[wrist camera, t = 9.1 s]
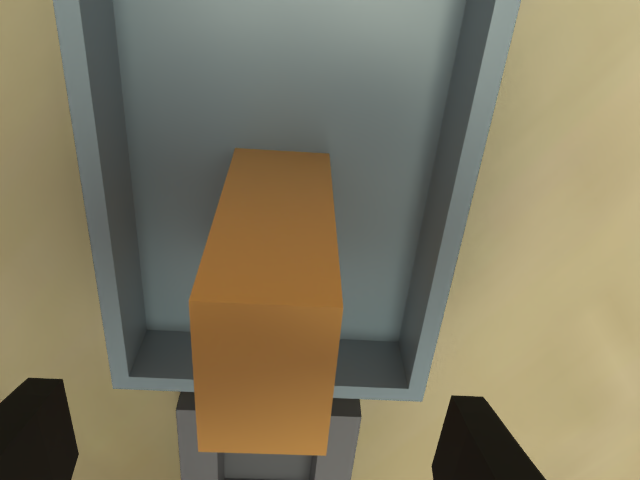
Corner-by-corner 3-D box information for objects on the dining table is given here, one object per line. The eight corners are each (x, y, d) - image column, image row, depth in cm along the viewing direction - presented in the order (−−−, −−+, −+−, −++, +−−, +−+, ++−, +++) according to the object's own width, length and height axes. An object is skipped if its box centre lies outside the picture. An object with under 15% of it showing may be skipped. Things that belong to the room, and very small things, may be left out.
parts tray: (135, 332, 22) (112, 388, 19) (78, -162, 14) (25, -179, 11) (408, 345, 23) (422, 401, 20) (508, -120, 14) (552, -127, 12)
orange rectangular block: (236, 263, 20) (197, 451, 13) (235, 148, 17) (188, 301, 11) (319, 267, 20) (326, 455, 13) (329, 153, 18) (343, 307, 11)
